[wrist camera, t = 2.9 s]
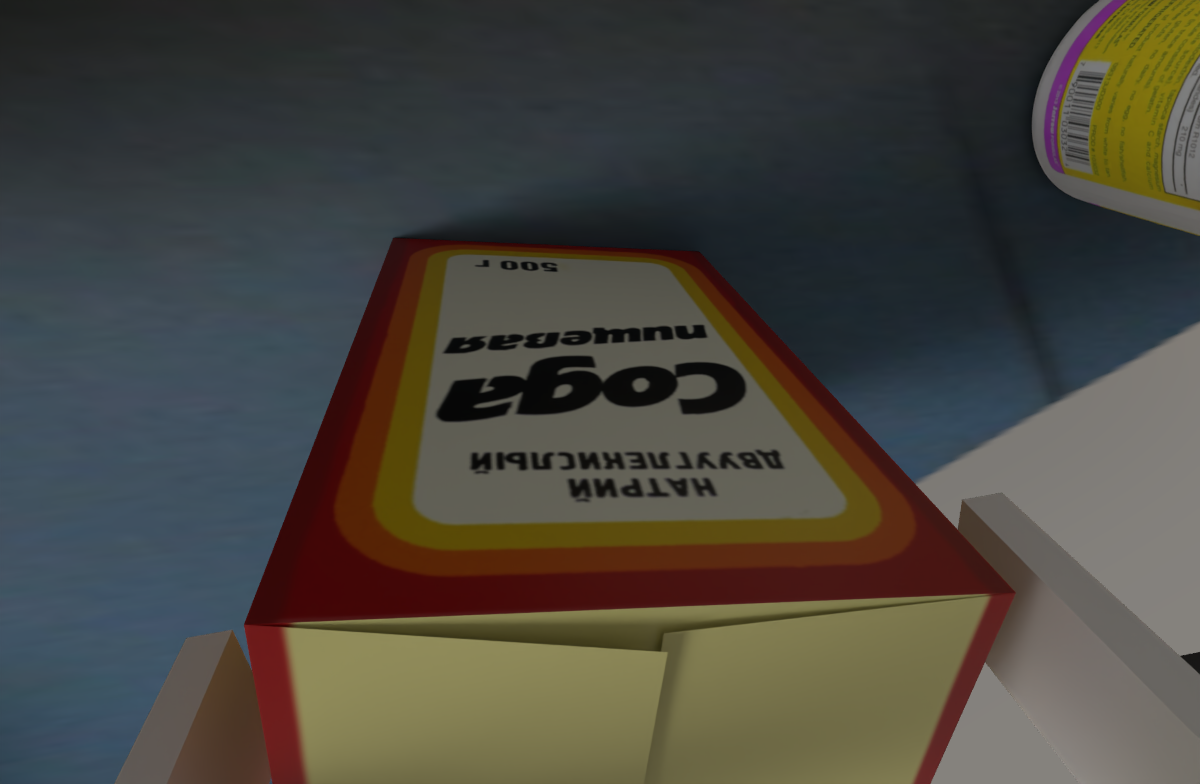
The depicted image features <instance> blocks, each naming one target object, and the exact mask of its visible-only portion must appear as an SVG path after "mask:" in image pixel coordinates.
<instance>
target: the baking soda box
mask: <svg viewBox="0 0 1200 784" xmlns="http://www.w3.org/2000/svg"><path fill="white" fill-rule="evenodd" d="M1015 594H1016V592H1015V591H1014V590H1013V589H1012V588H1011V587H1010V586H1009V585H1008V583H1007V582H1006V581H1005V580H1004V579H1003V578H1002V577H1001V576H1000V575H999V574H998V573H997V572H996V571H995V569H994V568H993V567H992V566H991V565H990V564H989V563H988V562H987V561H986V560H985V559H984V558H983V557H982V556H981V554H980V553H979V552H978V551H977V550H976V549H975V548H974V547H973V546H972V545H971V544H970V543H969V542H968V540H967V539H966V538H965V537H964V536H963V535H962V534H961V533H960V532H959V531H958V530H957V529H956V528H955V526H954V525H953V524H952V523H951V522H950V521H949V520H948V519H947V518H946V517H945V516H944V515H943V514H942V512H941V511H940V510H939V509H938V508H937V507H936V506H935V505H934V504H933V503H932V502H931V501H930V500H929V498H928V497H927V496H926V495H925V494H924V493H923V492H922V491H921V490H920V489H919V488H918V487H917V486H916V484H915V483H914V482H913V481H912V480H911V479H910V478H909V477H908V476H907V475H906V474H905V473H904V472H903V470H902V469H901V468H900V467H899V466H898V465H897V464H896V463H895V462H894V461H893V460H892V459H891V458H890V456H889V455H888V454H887V453H886V452H885V451H884V450H883V449H882V448H881V447H880V446H879V445H878V444H877V442H876V441H875V440H874V439H873V438H872V437H871V436H870V435H869V434H868V433H867V432H866V431H865V430H864V428H863V427H862V426H861V425H860V424H859V423H858V422H857V421H856V420H855V419H854V418H853V417H852V416H851V415H850V413H849V412H848V411H847V410H846V409H845V408H844V407H843V406H842V405H841V404H840V403H839V402H838V401H837V399H836V398H835V397H834V396H833V395H832V394H831V393H830V392H829V391H828V390H827V389H826V388H825V387H824V385H823V384H822V383H821V382H820V381H819V380H818V379H817V378H816V377H815V376H814V375H813V374H812V373H811V371H810V370H809V369H808V368H807V367H806V366H805V365H804V364H803V363H802V362H801V361H800V360H799V359H798V357H797V356H796V355H795V354H794V353H793V352H792V351H791V350H790V349H789V348H788V347H787V346H786V345H785V343H784V342H783V341H782V340H781V339H780V338H779V337H778V336H777V335H776V334H775V333H774V332H773V331H772V329H771V328H770V327H769V326H768V325H767V324H766V323H765V322H764V321H763V320H762V319H761V318H760V317H759V315H758V314H757V313H756V312H755V311H754V310H753V309H752V308H751V307H750V306H749V305H748V304H747V303H746V301H745V300H744V299H743V298H742V297H741V296H740V295H739V294H738V293H737V292H736V291H735V290H734V289H733V288H732V286H731V285H730V284H729V283H728V282H727V281H726V280H725V279H724V278H723V277H722V276H721V275H720V274H719V272H718V271H717V270H716V269H715V268H714V267H713V266H712V265H711V264H710V263H709V262H708V261H707V260H706V258H705V257H704V256H703V255H702V254H701V253H700V252H697V251H675V250H652V249H630V248H608V247H585V246H563V245H540V244H518V243H496V242H473V241H451V240H429V239H406V238H393V240H392V242H391V245H390V248H389V250H388V253H387V255H386V258H385V261H384V263H383V266H382V268H381V271H380V274H379V276H378V279H377V281H376V284H375V287H374V289H373V292H372V294H371V297H370V299H369V302H368V305H367V307H366V310H365V312H364V315H363V318H362V320H361V323H360V325H359V328H358V331H357V333H356V336H355V338H354V341H353V344H352V346H351V349H350V351H349V354H348V356H347V359H346V362H345V364H344V367H343V369H342V372H341V375H340V377H339V380H338V382H337V385H336V388H335V390H334V393H333V395H332V398H331V401H330V403H329V406H328V408H327V411H326V414H325V416H324V419H323V421H322V424H321V426H320V429H319V432H318V434H317V437H316V439H315V442H314V445H313V447H312V450H311V452H310V455H309V458H308V460H307V463H306V465H305V468H304V471H303V473H302V476H301V478H300V481H299V483H298V486H297V489H296V491H295V494H294V496H293V499H292V502H291V504H290V507H289V509H288V512H287V515H286V517H285V520H284V522H283V525H282V528H281V530H280V533H279V535H278V538H277V541H276V543H275V546H274V548H273V551H272V553H271V556H270V559H269V561H268V564H267V566H266V569H265V572H264V574H263V577H262V579H261V582H260V585H259V587H258V590H257V592H256V595H255V598H254V600H253V603H252V605H251V608H250V610H249V613H248V616H247V618H246V621H245V623H244V627H245V633H246V638H247V644H248V650H249V655H250V661H251V666H252V672H253V677H254V683H255V689H256V694H257V700H258V705H259V711H260V716H261V722H262V728H263V733H264V739H265V744H266V750H267V755H268V761H269V767H270V772H271V778H272V783H273V784H930V783H931V781H932V779H933V777H934V775H935V772H936V770H937V768H938V766H939V763H940V761H941V759H942V757H943V754H944V752H945V750H946V748H947V746H948V743H949V741H950V739H951V737H952V734H953V732H954V730H955V727H956V725H957V723H958V721H959V718H960V716H961V714H962V712H963V710H964V708H965V705H966V703H967V701H968V699H969V696H970V694H971V692H972V690H973V688H974V685H975V683H976V681H977V678H978V676H979V674H980V672H981V670H982V668H983V665H984V663H985V661H986V659H987V656H988V654H989V652H990V650H991V648H992V645H993V643H994V641H995V639H996V636H997V634H998V632H999V630H1000V627H1001V625H1002V623H1003V621H1004V619H1005V616H1006V614H1007V612H1008V610H1009V607H1010V605H1011V603H1012V601H1013V599H1014V596H1015Z"/></svg>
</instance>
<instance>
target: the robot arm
mask: <svg viewBox="0 0 1200 784" xmlns="http://www.w3.org/2000/svg"><path fill="white" fill-rule="evenodd" d="M958 531H959V532H960V533H961V534H962V535H963V536H964V537H965V538H966V539H967V540H968V542H969V543H970V544H971V545H972V546H973V547H974V548H975V549H976V550H977V551H978V552H979V553H980V554H981V556H982V557H983V558H984V559H985V560H986V561H987V562H988V563H989V564H990V565H991V566H992V567H993V568H994V569H995V571H996V572H997V573H998V574H999V575H1000V576H1001V577H1002V578H1003V579H1004V580H1005V581H1006V582H1007V583H1008V585H1009V586H1010V587H1011V588H1012V589H1013V590H1014V591H1015V592H1016V594H1015V596H1014V599H1013V601H1012V603H1011V605H1010V607H1009V610H1008V612H1007V614H1006V616H1005V619H1004V621H1003V623H1002V625H1001V627H1000V630H999V632H998V634H997V636H996V639H995V641H994V643H993V645H992V648H991V650H990V652H989V654H988V656H987V659H986V661H985V662H986V664H987V665H988V666H989V667H990V669H991V670H992V671H993V673H994V674H995V675H996V676H997V678H998V679H999V680H1000V682H1001V683H1002V684H1003V686H1004V687H1005V688H1006V689H1007V691H1008V692H1009V693H1010V695H1011V696H1012V697H1013V698H1014V700H1015V701H1016V702H1017V704H1018V705H1019V706H1020V708H1021V709H1022V710H1023V711H1024V713H1025V714H1026V715H1027V717H1028V718H1029V719H1030V720H1031V722H1032V723H1033V724H1034V726H1035V727H1036V728H1037V729H1038V731H1039V732H1040V733H1041V734H1042V736H1043V737H1044V738H1045V740H1046V741H1047V742H1048V744H1049V745H1050V746H1051V748H1052V749H1053V750H1054V751H1055V753H1056V754H1057V755H1058V756H1059V758H1060V759H1061V760H1062V762H1063V763H1064V764H1065V765H1066V767H1067V768H1068V770H1069V771H1070V772H1071V773H1072V775H1073V776H1074V777H1075V778H1076V780H1077V781H1078V782H1079V784H1200V652H1198V653H1193V654H1188V655H1183V656H1179V655H1178V654H1177V653H1176V652H1175V651H1174V650H1173V649H1172V648H1171V647H1169V646H1168V645H1167V644H1166V643H1165V642H1164V641H1163V640H1162V639H1161V638H1160V637H1158V636H1157V635H1156V634H1155V633H1154V632H1153V631H1152V630H1151V629H1150V628H1148V626H1147V625H1145V624H1144V623H1143V622H1142V621H1141V620H1140V619H1139V618H1138V617H1137V616H1136V615H1135V614H1133V613H1132V612H1131V611H1130V610H1129V609H1128V608H1127V607H1126V606H1125V605H1124V604H1122V603H1121V602H1120V601H1119V600H1118V599H1117V598H1116V597H1115V596H1114V595H1113V594H1112V593H1111V592H1110V591H1108V590H1107V589H1106V588H1105V587H1104V586H1103V585H1102V584H1101V583H1100V582H1099V581H1098V580H1097V579H1095V578H1094V577H1093V576H1092V575H1091V574H1090V573H1089V572H1088V571H1087V570H1085V569H1084V568H1083V567H1082V566H1081V565H1080V564H1079V563H1078V562H1077V561H1076V560H1075V559H1073V557H1071V556H1070V555H1069V554H1068V553H1067V552H1066V551H1065V550H1064V549H1063V548H1062V547H1061V546H1059V545H1058V544H1057V543H1056V542H1055V541H1054V540H1053V539H1052V538H1051V537H1050V536H1048V535H1047V534H1046V533H1045V532H1044V531H1043V530H1042V529H1041V528H1040V527H1039V526H1038V525H1037V524H1036V523H1034V522H1033V521H1032V520H1031V519H1030V518H1029V517H1028V516H1027V515H1026V514H1025V513H1023V512H1022V511H1021V510H1020V509H1019V508H1018V507H1017V506H1016V505H1015V504H1014V503H1013V502H1012V501H1010V500H1009V499H1008V498H1007V497H1006V496H1005V495H1004V494H1003V493H997V494H992V495H986V496H980V497H975V498H969V499H963V500H962V505H961V512H960V518H959V525H958ZM270 778H271V772H270V767H269V761H268V755H267V750H266V744H265V739H264V733H263V728H262V722H261V716H260V711H259V705H258V700H257V694H256V689H255V683H254V677H253V672H252V670H251V668H250V666H249V664H248V662H247V660H246V658H245V656H244V653H243V651H242V649H241V647H240V645H239V643H238V641H237V639H236V637H235V635H234V632H233V630H229V631H223V632H218V633H212V634H206V635H201V636H195V637H190V638H186V640H185V642H184V644H183V646H182V648H181V650H180V652H179V654H178V656H177V658H176V660H175V662H174V664H173V666H172V668H171V670H170V672H169V674H168V676H167V678H166V680H165V682H164V684H163V686H162V688H161V691H160V693H159V695H158V697H157V699H156V701H155V703H154V705H153V707H152V709H151V711H150V713H149V715H148V717H147V719H146V721H145V723H144V725H143V727H142V729H141V731H140V733H139V735H138V737H137V739H136V741H135V743H134V745H133V747H132V749H131V751H130V753H129V755H128V757H127V759H126V761H125V763H124V765H123V767H122V769H121V771H120V773H119V775H118V777H117V779H116V781H115V783H114V784H269V782H270Z"/></svg>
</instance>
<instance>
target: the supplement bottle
mask: <svg viewBox="0 0 1200 784" xmlns="http://www.w3.org/2000/svg"><path fill="white" fill-rule="evenodd" d="M1032 138H1033V144H1034V150H1035V153H1036V156H1037V159H1038V161H1039V163H1040V165H1041V167H1042V169H1043V171H1044V173H1045V174H1046V175H1047V177H1048V178H1049V179H1050V180H1051V182H1052V183H1053V184H1054V185H1055V186H1057V187H1058V188H1059V189H1060V190H1062V191H1063V192H1065V193H1066V194H1068V195H1070V196H1072V197H1074V198H1077V199H1079V200H1082V201H1085V202H1088V203H1091V204H1094V205H1097V206H1100V207H1103V208H1106V209H1110V210H1114V211H1117V212H1120V213H1124V214H1127V215H1130V216H1134V217H1137V218H1141V219H1144V220H1147V221H1151V222H1154V223H1157V224H1161V225H1164V226H1167V227H1171V228H1174V229H1178V230H1181V231H1185V232H1188V233H1191V234H1195V235H1198V236H1200V0H1099V1H1098V2H1097V3H1095V4H1094V5H1093V6H1092V7H1091V8H1089V9H1088V10H1087V11H1086V12H1085V13H1084V14H1083V15H1082V16H1081V17H1080V18H1079V19H1078V20H1077V21H1076V23H1075V24H1074V25H1073V26H1072V28H1071V29H1070V30H1069V32H1068V33H1067V34H1066V35H1065V37H1064V38H1063V39H1062V41H1061V42H1060V44H1059V45H1058V47H1057V48H1056V50H1055V52H1054V53H1053V55H1052V57H1051V59H1050V60H1049V62H1048V64H1047V66H1046V68H1045V71H1044V73H1043V75H1042V78H1041V80H1040V83H1039V86H1038V88H1037V93H1036V97H1035V101H1034V106H1033V113H1032Z"/></svg>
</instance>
